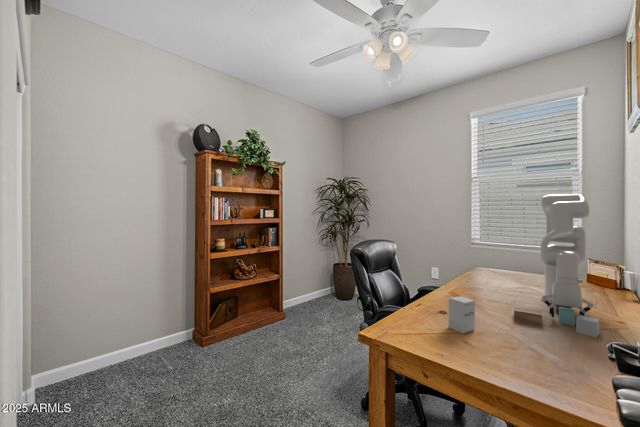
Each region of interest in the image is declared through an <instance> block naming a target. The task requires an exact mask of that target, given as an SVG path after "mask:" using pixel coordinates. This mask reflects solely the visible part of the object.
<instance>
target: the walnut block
mask: <svg viewBox="0 0 640 427" xmlns="http://www.w3.org/2000/svg"><path fill="white" fill-rule="evenodd" d="M513 321H514V322H518V323H522V324H523V323H525V324H529V325H535V326H538V327H539V326H540V327H543V313H542V310H541V308H538V307H537V308H536V307H530V306H525V305H520V304H514V305H513Z"/></svg>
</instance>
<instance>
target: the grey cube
mask: <svg viewBox="0 0 640 427" xmlns="http://www.w3.org/2000/svg"><path fill="white" fill-rule="evenodd" d="M600 321H601V320H600V318H596V317H591V316H583V315H580V314H579V315H577V317H576V324H575V326H576V327H575V328H576V330H575V331H576V333H578V334H581V335H584V336H585V335H586V336H590V337H594V338H597V337H598V336H599V335H600Z"/></svg>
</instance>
